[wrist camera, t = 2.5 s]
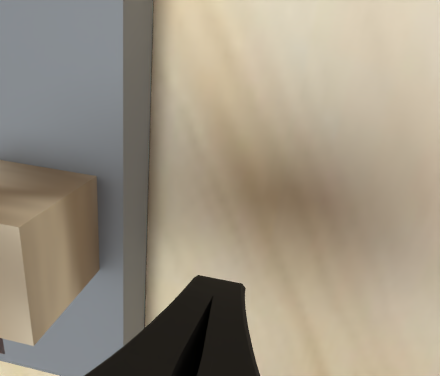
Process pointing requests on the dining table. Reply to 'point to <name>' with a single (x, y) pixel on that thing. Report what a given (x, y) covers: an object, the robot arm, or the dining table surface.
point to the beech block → (44, 246)
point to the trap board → (84, 154)
